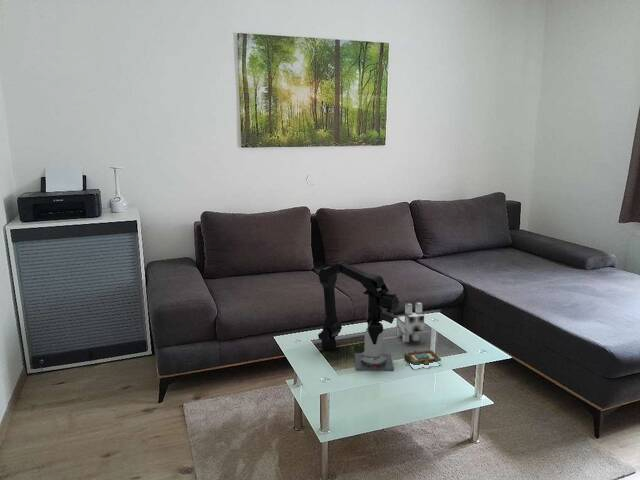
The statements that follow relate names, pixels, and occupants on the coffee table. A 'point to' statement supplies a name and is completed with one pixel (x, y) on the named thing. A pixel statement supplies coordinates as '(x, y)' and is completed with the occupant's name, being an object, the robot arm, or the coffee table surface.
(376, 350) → the can
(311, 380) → the coffee table surface
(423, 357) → the decorative book
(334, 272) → the robot arm
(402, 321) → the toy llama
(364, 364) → the square metal dish
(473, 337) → the coffee table surface
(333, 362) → the coffee table surface
